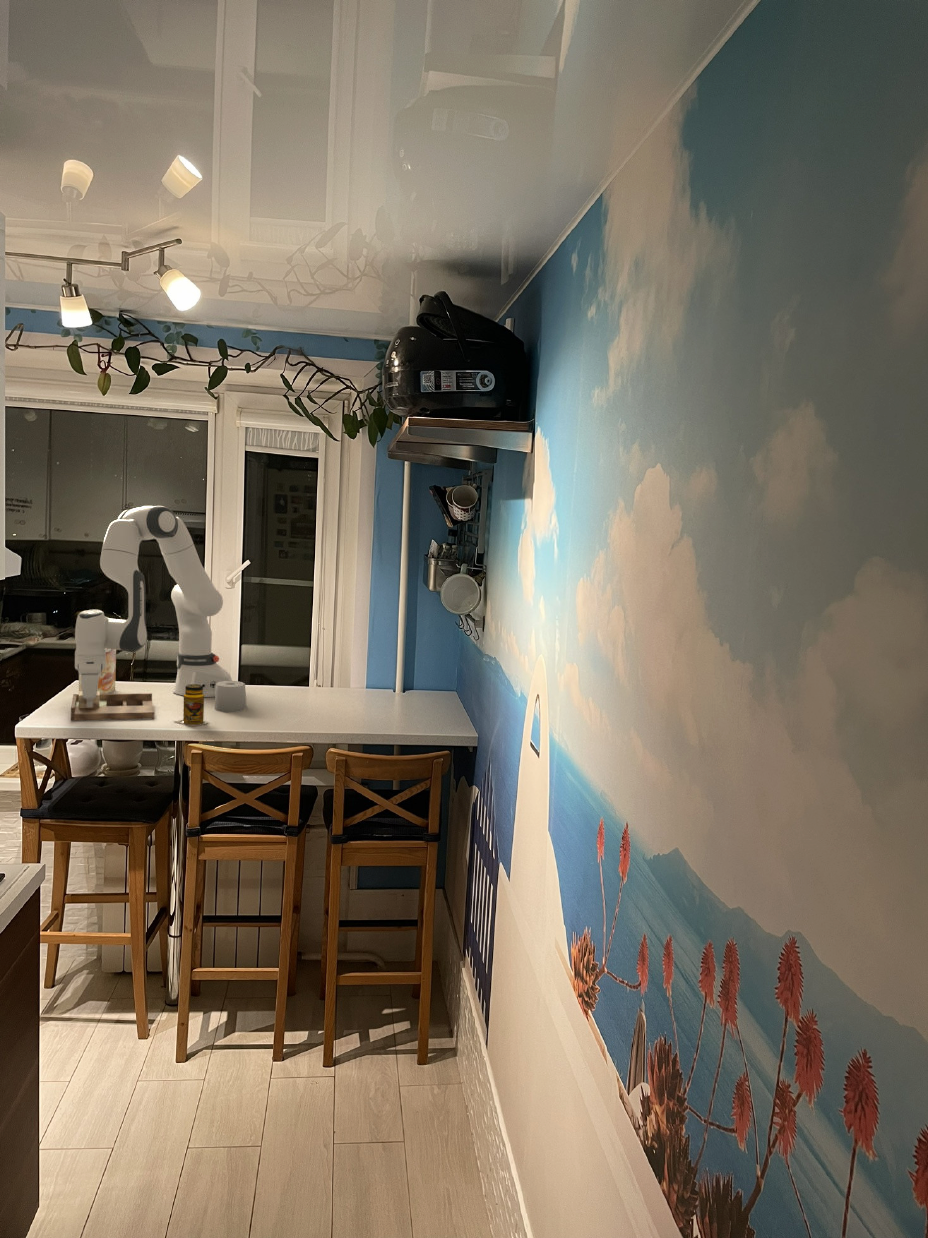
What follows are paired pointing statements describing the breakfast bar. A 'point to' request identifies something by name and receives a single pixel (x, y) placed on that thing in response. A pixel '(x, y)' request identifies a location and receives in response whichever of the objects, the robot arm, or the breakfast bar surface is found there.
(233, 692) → the toilet tissue
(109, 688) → the coffeecake box
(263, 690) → the breakfast bar surface
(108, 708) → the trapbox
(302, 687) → the breakfast bar surface
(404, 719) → the breakfast bar surface
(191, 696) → the condiment
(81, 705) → the block
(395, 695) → the breakfast bar surface
